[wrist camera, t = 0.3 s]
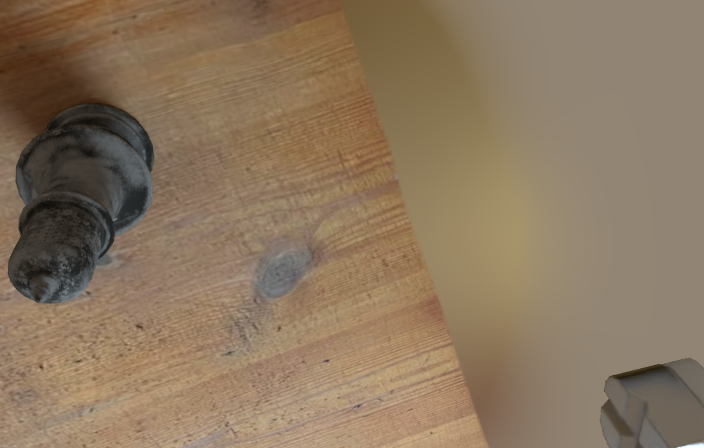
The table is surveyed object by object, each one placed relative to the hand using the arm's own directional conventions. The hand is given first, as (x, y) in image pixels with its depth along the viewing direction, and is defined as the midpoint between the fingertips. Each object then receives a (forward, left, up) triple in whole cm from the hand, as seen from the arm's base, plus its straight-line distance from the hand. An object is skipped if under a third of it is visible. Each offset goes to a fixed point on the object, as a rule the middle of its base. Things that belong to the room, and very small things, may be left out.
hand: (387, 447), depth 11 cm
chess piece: (+3, -10, -23) cm, 25 cm away
